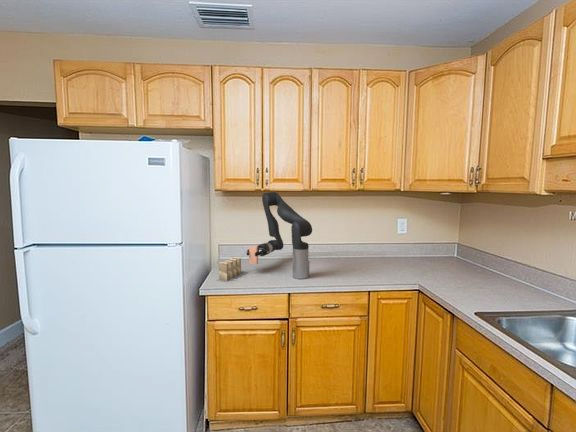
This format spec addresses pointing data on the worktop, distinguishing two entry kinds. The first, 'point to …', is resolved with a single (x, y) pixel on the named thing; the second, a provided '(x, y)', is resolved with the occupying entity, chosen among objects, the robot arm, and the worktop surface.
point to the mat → (234, 277)
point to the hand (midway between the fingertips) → (251, 254)
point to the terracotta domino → (253, 255)
